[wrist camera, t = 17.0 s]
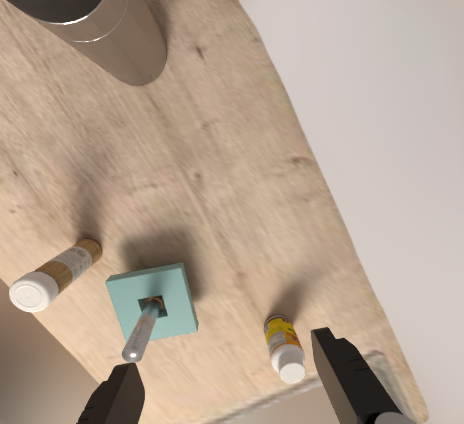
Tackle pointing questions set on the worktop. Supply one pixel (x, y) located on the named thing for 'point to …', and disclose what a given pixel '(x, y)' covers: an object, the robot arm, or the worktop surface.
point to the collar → (149, 285)
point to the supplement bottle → (284, 349)
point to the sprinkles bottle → (54, 276)
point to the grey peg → (143, 329)
